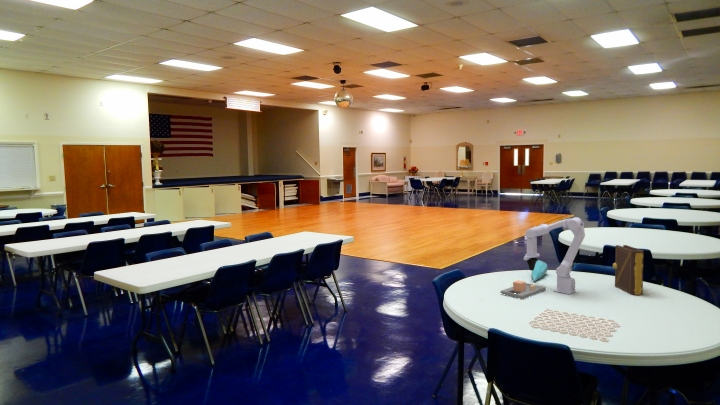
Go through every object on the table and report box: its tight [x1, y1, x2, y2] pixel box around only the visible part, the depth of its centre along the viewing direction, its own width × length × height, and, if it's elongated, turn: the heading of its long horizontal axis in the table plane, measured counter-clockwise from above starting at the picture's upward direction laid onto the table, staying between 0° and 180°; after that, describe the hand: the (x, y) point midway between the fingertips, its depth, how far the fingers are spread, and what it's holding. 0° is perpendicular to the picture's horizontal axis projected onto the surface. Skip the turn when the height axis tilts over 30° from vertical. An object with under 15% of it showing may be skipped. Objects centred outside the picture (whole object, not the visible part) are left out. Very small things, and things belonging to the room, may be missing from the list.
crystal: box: [531, 259, 548, 282], centre depth 305 cm, size 10×34×10 cm, turn 151°
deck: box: [500, 282, 547, 300], centre depth 272 cm, size 14×25×4 cm, turn 129°
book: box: [612, 244, 645, 296], centre depth 270 cm, size 22×8×25 cm, turn 179°
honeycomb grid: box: [528, 308, 621, 343], centre depth 219 cm, size 30×35×1 cm
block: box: [512, 280, 527, 292], centre depth 270 cm, size 5×5×5 cm
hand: (531, 270), depth 283 cm, fingers closed
